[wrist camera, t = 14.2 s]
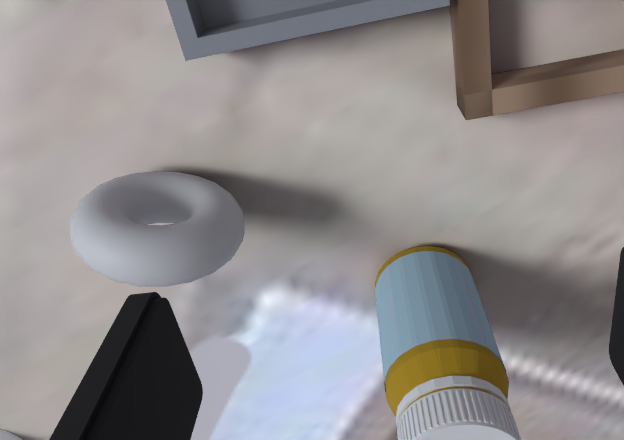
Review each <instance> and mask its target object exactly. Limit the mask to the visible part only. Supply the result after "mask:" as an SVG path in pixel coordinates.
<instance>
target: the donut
mask: <svg viewBox="0 0 624 440" xmlns="http://www.w3.org/2000/svg"><path fill="white" fill-rule="evenodd" d="M153 223H174V224H170V225H162V226H160V225H147V224H153ZM70 235H71V241H72V245H73V248H74V251H75V252H76V253H77V254H78V255H79V256H80V257H81V259H82V260H83V261H84V262H85V263H86V264H87V265H88V266H89V267H90V268H91V270H93V271H95V272H97V273H99V274H101V275H103V276H105V277H107V278H109V279H111V280H114V281H117V282H122V283H126V284H131V285H136V286H152V287H166V286H172V285H177V284H183V283H188V282H192V281H194V280H197V279H199V278H202V277H204V276H207V275H209V274H211V273H213V272H215V271H217V270H218V269H219V268H220V267H222V266H223V265H224V264H226V263H227V262H228V261H229V260H231V259H232V257H233V256H234V254H235V253H236V251H237V249H238V248H239V246H240V244H241V242H242V241H243V237H244V216H243V212H242V210H241V208H240V206H239V205H238V203H237V202H236V200H235V199H234V197H233V196H232V195H231V194H230V193H229V192H228V191H226V190H225V189H224V188H222V187H221V186H219V185H218V184H216V183H215V182H212V181H210V180H207V179H204V178H202V177H199V176H195V175H190V174H184V173H179V172H162V171H154V172H144V173H135V174H130V175H126V176H122V177H118V178H114V179H112V180H110V181H108V182H106V183H103V184H101V185H99V186H97V187H96V188H95V189H93V190H92V191H91V192H90V193H89V194H87V195H86V196H85V197H84V198H83V199H81V200H80V201H79V203H78V205H77V208H76V210H75V212H74V214H73V216H72V218H71V220H70Z"/></svg>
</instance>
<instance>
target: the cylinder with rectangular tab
mask: <svg viewBox="0 0 624 440" xmlns="http://www.w3.org/2000/svg"><path fill="white" fill-rule="evenodd" d="M0 440H22V439H21V438H19V437H18V436H16V435H14V434H11V433H9V432H7V431H4V430H1V429H0Z"/></svg>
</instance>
